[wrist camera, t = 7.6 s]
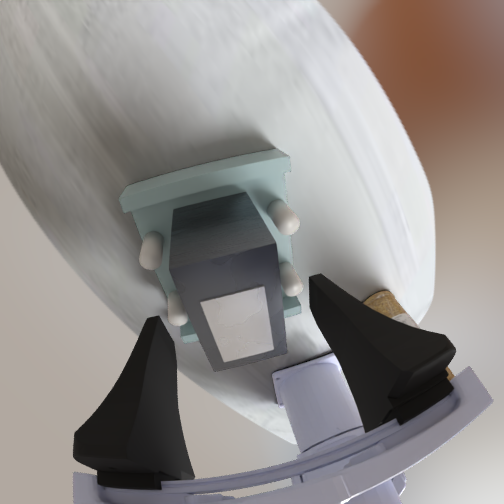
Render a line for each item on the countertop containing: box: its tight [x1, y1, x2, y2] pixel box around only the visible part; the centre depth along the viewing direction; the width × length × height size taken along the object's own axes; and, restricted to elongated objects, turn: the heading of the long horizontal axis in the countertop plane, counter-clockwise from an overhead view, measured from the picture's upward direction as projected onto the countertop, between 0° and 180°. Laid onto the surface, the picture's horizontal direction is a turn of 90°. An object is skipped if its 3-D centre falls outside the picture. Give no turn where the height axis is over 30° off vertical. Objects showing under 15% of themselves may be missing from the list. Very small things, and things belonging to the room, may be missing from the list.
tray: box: [119, 149, 304, 344], centre depth 16 cm, size 11×8×3 cm
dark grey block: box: [169, 192, 287, 372], centre depth 14 cm, size 7×4×6 cm, turn 8°
